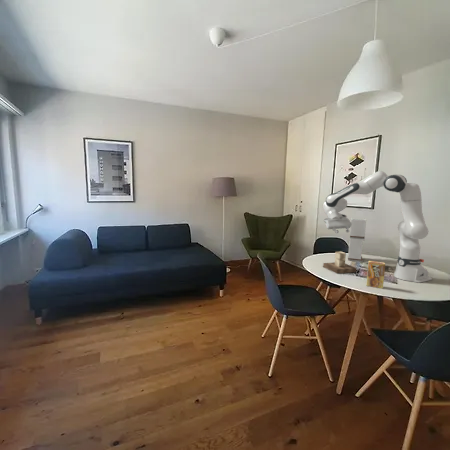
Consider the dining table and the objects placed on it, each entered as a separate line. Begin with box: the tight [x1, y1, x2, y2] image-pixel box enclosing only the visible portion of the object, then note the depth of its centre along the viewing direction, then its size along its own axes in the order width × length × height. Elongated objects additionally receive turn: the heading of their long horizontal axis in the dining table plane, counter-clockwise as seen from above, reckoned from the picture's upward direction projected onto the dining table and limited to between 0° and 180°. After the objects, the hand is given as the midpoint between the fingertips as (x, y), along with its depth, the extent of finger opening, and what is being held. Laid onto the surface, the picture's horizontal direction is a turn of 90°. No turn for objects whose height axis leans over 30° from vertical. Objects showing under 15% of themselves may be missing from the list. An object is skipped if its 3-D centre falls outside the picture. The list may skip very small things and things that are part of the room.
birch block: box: [334, 251, 347, 267], centre depth 190 cm, size 5×5×10 cm
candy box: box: [366, 260, 386, 289], centre depth 158 cm, size 9×4×15 cm, turn 62°
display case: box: [347, 217, 367, 263], centre depth 217 cm, size 11×11×35 cm
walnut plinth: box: [322, 261, 357, 274], centre depth 191 cm, size 16×16×3 cm
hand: (342, 232), depth 193 cm, fingers open, 8 cm apart
